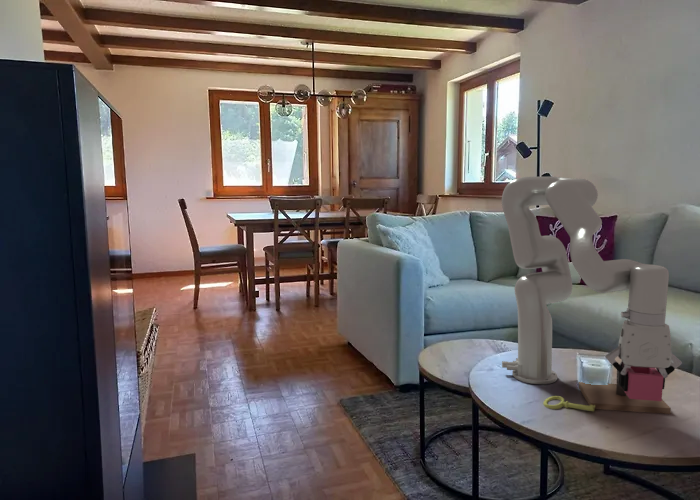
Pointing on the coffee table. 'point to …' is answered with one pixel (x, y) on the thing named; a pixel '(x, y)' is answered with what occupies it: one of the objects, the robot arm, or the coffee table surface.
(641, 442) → the coffee table surface
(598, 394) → the bobbin stand
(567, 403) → the key
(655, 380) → the sleeve
